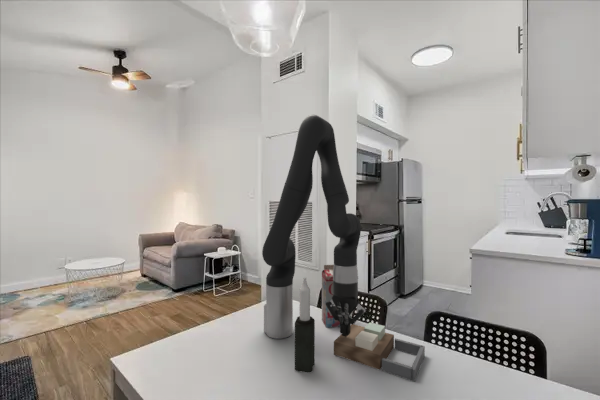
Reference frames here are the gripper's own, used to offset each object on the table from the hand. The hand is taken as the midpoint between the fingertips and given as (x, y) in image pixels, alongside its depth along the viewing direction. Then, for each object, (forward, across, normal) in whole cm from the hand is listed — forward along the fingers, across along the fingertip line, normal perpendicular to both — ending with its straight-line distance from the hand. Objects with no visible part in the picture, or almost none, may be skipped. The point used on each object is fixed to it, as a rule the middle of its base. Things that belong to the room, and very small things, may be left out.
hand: (345, 335), depth 87 cm
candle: (+5, -6, -14) cm, 16 cm away
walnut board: (+5, +5, +3) cm, 8 cm away
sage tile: (+1, +7, +7) cm, 10 cm away
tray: (+5, +16, +3) cm, 17 cm away
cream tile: (+1, +7, 0) cm, 7 cm away
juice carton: (+5, -12, +15) cm, 20 cm away
